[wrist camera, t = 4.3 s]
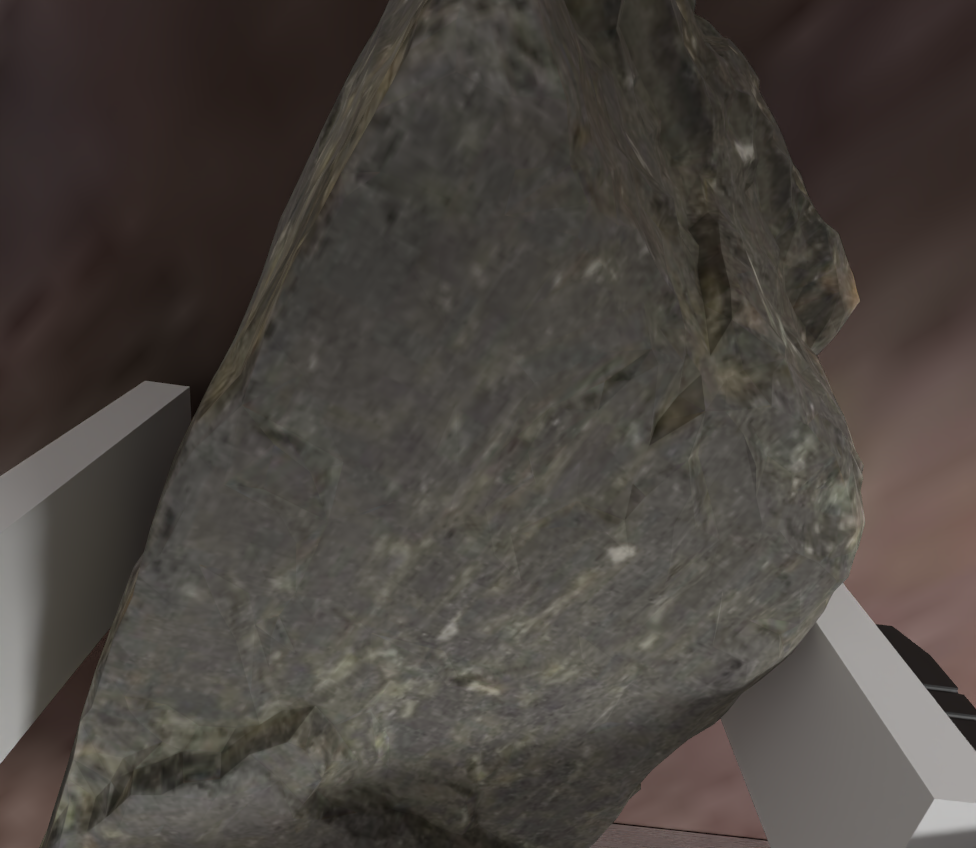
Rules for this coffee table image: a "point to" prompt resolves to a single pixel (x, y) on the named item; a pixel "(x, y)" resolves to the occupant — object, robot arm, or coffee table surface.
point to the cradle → (669, 839)
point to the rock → (488, 455)
